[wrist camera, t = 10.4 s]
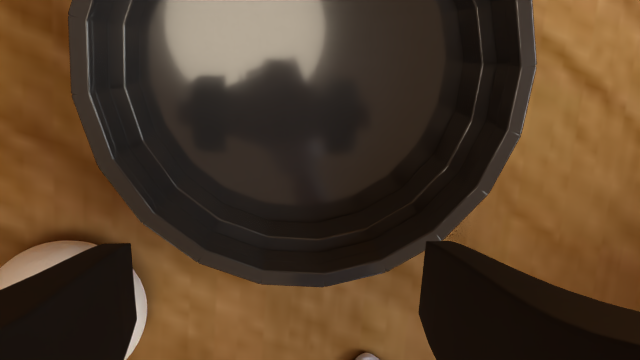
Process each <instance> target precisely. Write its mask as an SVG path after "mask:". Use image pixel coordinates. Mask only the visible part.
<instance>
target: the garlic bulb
mask: <svg viewBox="0 0 640 360" xmlns="http://www.w3.org/2000/svg"><path fill="white" fill-rule="evenodd" d="M95 246H97V245H96V244H92V243H89V242H83V241H68V240H67V241H66V240H65V241H54V242H49V243H48V242H47V243H43V244H40V245H37V246H34V247H32V248H29V249H27V250H25V251H23V252H21V253H19V254H18V255H16V256H15V257H13V258H12V259H10V260H9V261H8V262H7V263H6V264H4V265H3V266H2V267H1V268H0V290H1V289H3V288H6V287H8V286H10V285H12V284H15V283H17V282H19V281H21V280H24V279H26V278H28V277H30V276H33V275H35V274H37V273H39V272H41V271H43V270H45V269H47V268H50V267H52V266H54V265H56V264H58V263H60V262H62V261H64V260H66V259H68V258H70V257H72V256H74V255H77V254H79V253H81V252H83V251H85V250H87V249H90V248H92V247H95ZM133 278H134V289H135V301H136V312H137V321H136V325H135V328H134V331H133V335H132V338H131V341H130V344H129V347H128V350H127V353H126V356H125V358H124V360H126V359H127V358H128V357H129V356H130V354H131V353H132V352H133V350H134V349H135V347H136V346H137V344H138V342H139V340H140V338H141V336H142V333H143V330H144V327H145V323H146V317H147V299H146V295H145V291H144V288H143V285H142V283H141V281H140V278H139V277H138V276H137V274H136V273H135V271H134V269H133Z"/></svg>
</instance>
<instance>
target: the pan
mask: <svg viewBox="0 0 640 360" xmlns="http://www.w3.org/2000/svg"><path fill="white" fill-rule="evenodd" d="M68 15H69V16H68V29H69V53H70V77H71V93H72V94H73V95H72V98H73V101H74V104H75V106H76V109H77V112H78V115H79V117H80V120H81V123H82V125H83V128H84V131H85V133H86V136H87V139H88V141H89V144H90V147H91V150H92V152H93V155H94V158H95V160H96V163H97V165H99V166H98V167H99V169H100V170H101V171H102V173H103V174H104V175H105V176H106V178H107V179H108V180H109V182H110V183H111V184H112V185H113V187H114V188H115V189H116V191H117V192H118V193H119V195H120V196H121V197H122V198H123V200H124V201H125V202H126V204H127V205H128V206H129V207H130V209H131V210H132V211H133V213H134V214H135V215H136V217H137V218H138V219H139V220H140V222H141V223H142V222H143V224H144V225H145V226H147V227H148V228H150V229H151V230H152V231H154V232H155V233H157V234H158V235H159V236H161V237H162V238H164V239H165V240H166V241H168V242H169V243H171V244H172V245H173V246H175V247H176V248H178V249H179V250H180V251H182V252H183V253H185V254H186V255H188V256H189V257H190V258H192V259H193V260H195V261H196V262H198V263H199V264H202V265H205V266H208V267H211V268H214V269H217V270H220V271H223V272H226V273H229V274H232V275H234V276H237V277H240V278H243V279H246V280H249V281H252V282H255V283H258V284H263V285H285V286H306V287H324V286H325V287H327V286H331V285H335V284H339V283H344V282H348V281H352V280H356V279H360V278H365V277H369V276H373V275H377V274H381V273H385V272H387V271H389V270H391V269H393V268H395V267H397V266H398V265H400V264H402V263H404V262H405V261H407V260H409V259H411V258H413V257H414V256H416V255H418V254H420V253H421V252H423V251H425V248H426V241H441V240H444V239H445V238H446V237H447V236H448V234H449V233H450V232H451V231H452V230H453V229H454V228H455V227H456V226H457V225H458V224H459V223H460V222H461V221H462V220H463V219H464V218H465V217H466V216H467V215H468V214H469V213H470V212H471V211H472V210H473V209H474V208H475V207H476V206H477V205H478V204H479V203H480V202H481V201H482V200H483V199H484V198H485V197H486V196H487V195H488V194H489V193H490V191H491V189H492V187H493V186H494V184H495V182H496V180H497V178H498V176H499V175H500V173H501V171H502V169H503V167H504V166H505V164H506V162H507V160H508V158H509V157H510V155H511V153H512V151H513V149H514V148H515V146H516V144H517V142H518V140H519V138H520V137H521V135H520V134H521V133H522V129H523V125H524V121H525V116H526V112H527V107H528V103H529V98H530V94H531V90H532V85H533V81H534V76H535V72H536V66H535V65H537V60H536V46H535V32H534V17H533V3H532V0H72V2H71V5H70V9H69V12H68Z"/></svg>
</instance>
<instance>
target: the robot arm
mask: <svg viewBox="0 0 640 360" xmlns="http://www.w3.org/2000/svg"><path fill="white" fill-rule="evenodd" d="M419 316H420V319H421V322H422V325H423V328H424V331H425V334H426V337H427V340H428V343H429V345H430V348H431V350H432V352H433V354H434V356H435V358H436V360H640V312H639V311H635V310H631V309H627V308H623V307H619V306H616V305H612V304H609V303H605V302H602V301H598V300H595V299H592V298H589V297H586V296H583V295H580V294H577V293H574V292H571V291H568V290H565V289H563V288H560V287H557V286H554V285H552V284H549V283H547V282H545V281H542V280H540V279H537V278H535V277H532V276H530V275H528V274H525V273H523V272H521V271H519V270H516V269H514V268H512V267H510V266H507V265H505V264H503V263H501V262H499V261H497V260H495V259H492V258H490V257H488V256H486V255H484V254H482V253H480V252H477V251H475V250H473V249H471V248H468V247H466V246H464V245H461V244H458V243H455V242H452V241H426V248H425V257H424V266H423V276H422V285H421V295H420V304H419ZM136 321H137V312H136V301H135V289H134V278H133V267H132V255H131V244H130V243H118V244H101V245H97V246H95V247H92V248H90V249H87V250H85V251H83V252H81V253H79V254H77V255H74V256H72V257H70V258H68V259H66V260H64V261H62V262H60V263H58V264H56V265H54V266H52V267H50V268H47V269H45V270H43V271H41V272H39V273H37V274H35V275H33V276H30V277H28V278H26V279H24V280H21V281H19V282H17V283H15V284H12V285H10V286H8V287H6V288H3V289H1V290H0V360H124V358H125V356H126V353H127V350H128V347H129V344H130V341H131V338H132V335H133V331H134V328H135V325H136ZM355 360H379V359H378V358H377V357H375V356H374V355H373V354H370V353H363V354H361V355H359V356H358V357H357V358H356V359H355Z"/></svg>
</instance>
